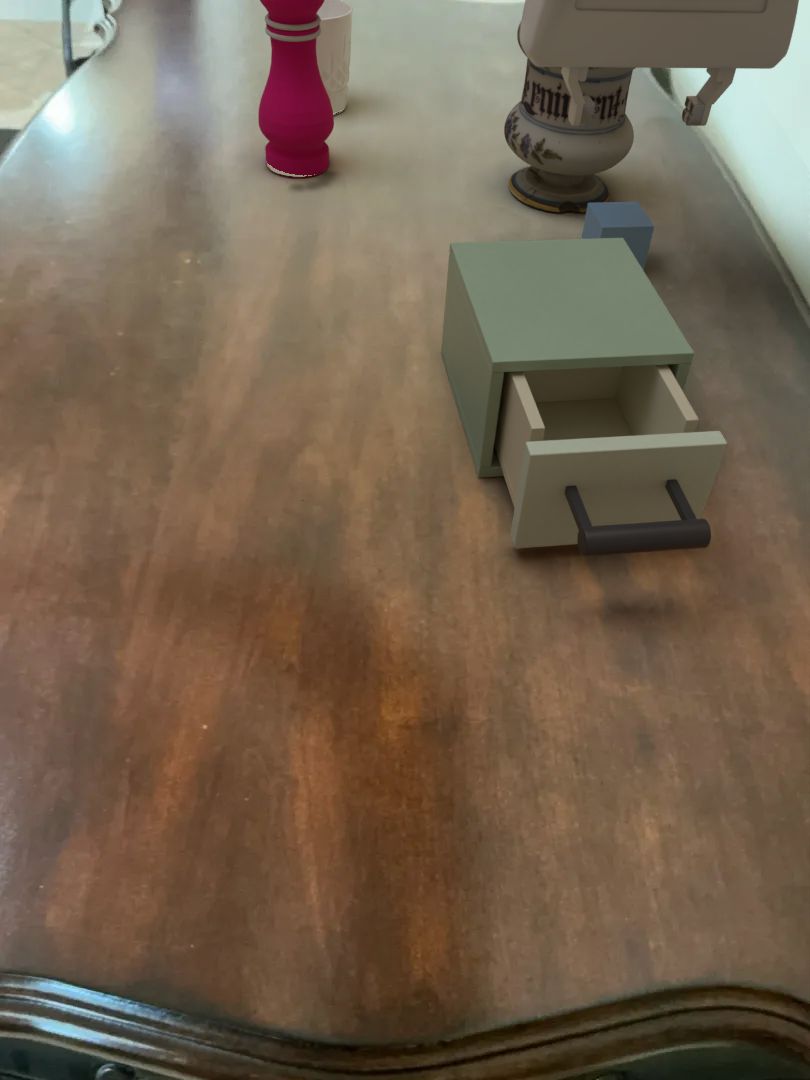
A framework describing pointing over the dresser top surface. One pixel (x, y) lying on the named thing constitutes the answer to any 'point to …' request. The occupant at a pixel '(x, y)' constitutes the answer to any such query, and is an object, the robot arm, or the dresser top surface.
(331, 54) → the white cup
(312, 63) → the pepper mill
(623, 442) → the drawer
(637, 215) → the slate blue block
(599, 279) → the green drawer cabinet
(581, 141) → the apothecary jar
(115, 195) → the dresser top surface
